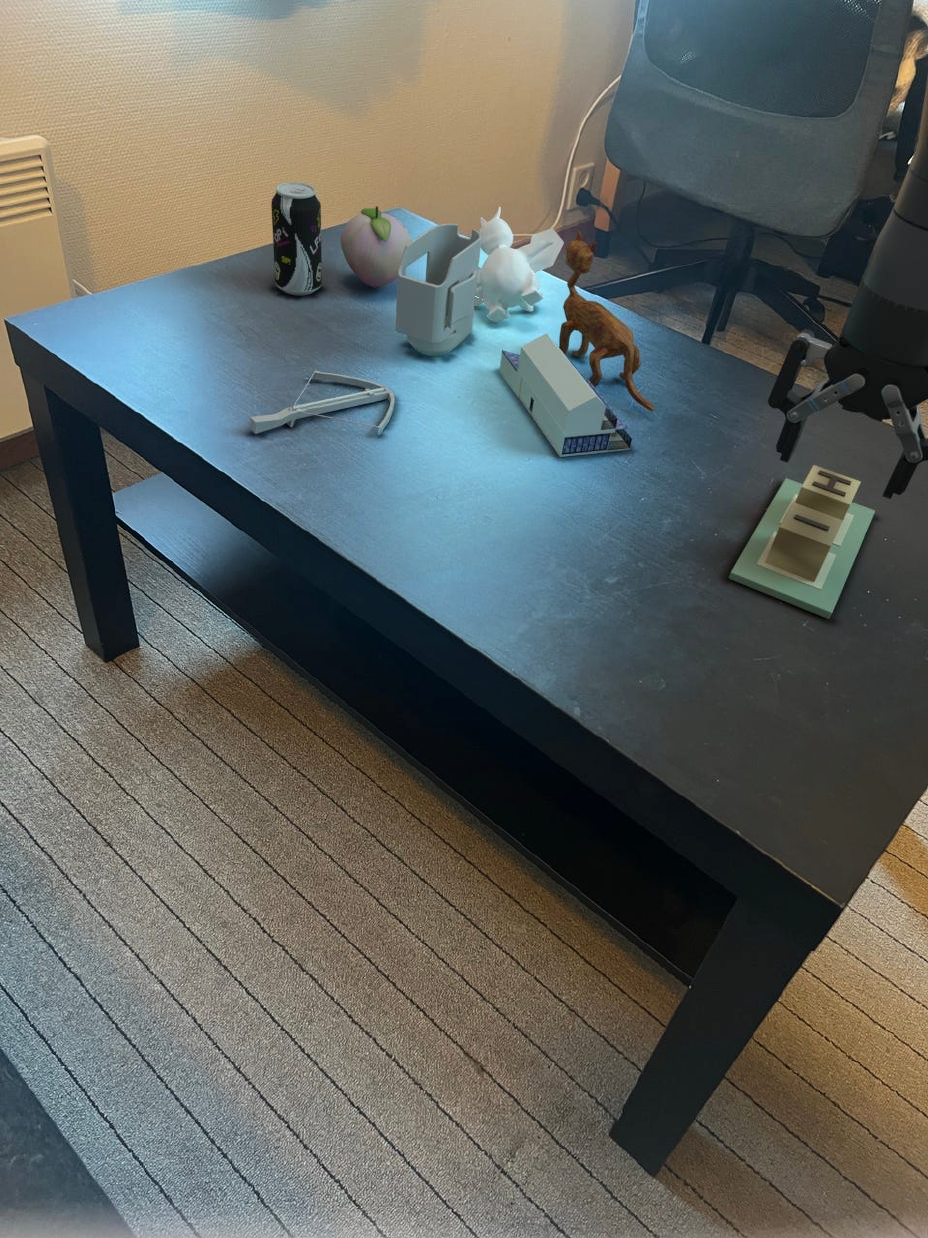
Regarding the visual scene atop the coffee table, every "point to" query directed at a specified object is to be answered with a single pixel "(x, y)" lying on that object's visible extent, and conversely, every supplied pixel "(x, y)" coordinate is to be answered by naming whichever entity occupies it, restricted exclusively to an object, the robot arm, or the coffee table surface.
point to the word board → (791, 586)
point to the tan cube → (803, 541)
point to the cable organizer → (438, 290)
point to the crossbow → (328, 404)
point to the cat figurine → (597, 325)
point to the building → (563, 400)
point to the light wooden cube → (827, 492)
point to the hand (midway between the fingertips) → (836, 475)
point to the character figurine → (512, 268)
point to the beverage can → (297, 238)
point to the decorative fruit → (374, 246)
